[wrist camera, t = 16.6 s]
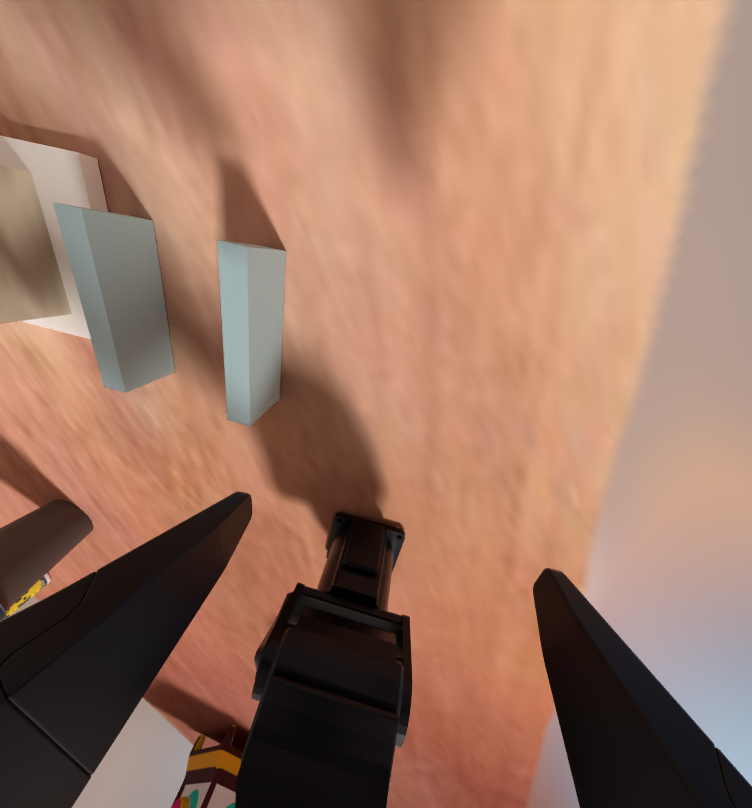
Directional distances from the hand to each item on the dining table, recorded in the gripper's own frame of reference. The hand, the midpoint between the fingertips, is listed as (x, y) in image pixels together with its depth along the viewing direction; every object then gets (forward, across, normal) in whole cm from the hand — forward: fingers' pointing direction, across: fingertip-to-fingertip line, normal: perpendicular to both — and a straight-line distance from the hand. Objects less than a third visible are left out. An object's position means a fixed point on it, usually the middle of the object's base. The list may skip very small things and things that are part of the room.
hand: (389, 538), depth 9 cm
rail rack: (+12, +14, -2) cm, 19 cm away
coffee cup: (+12, +35, +25) cm, 45 cm away
